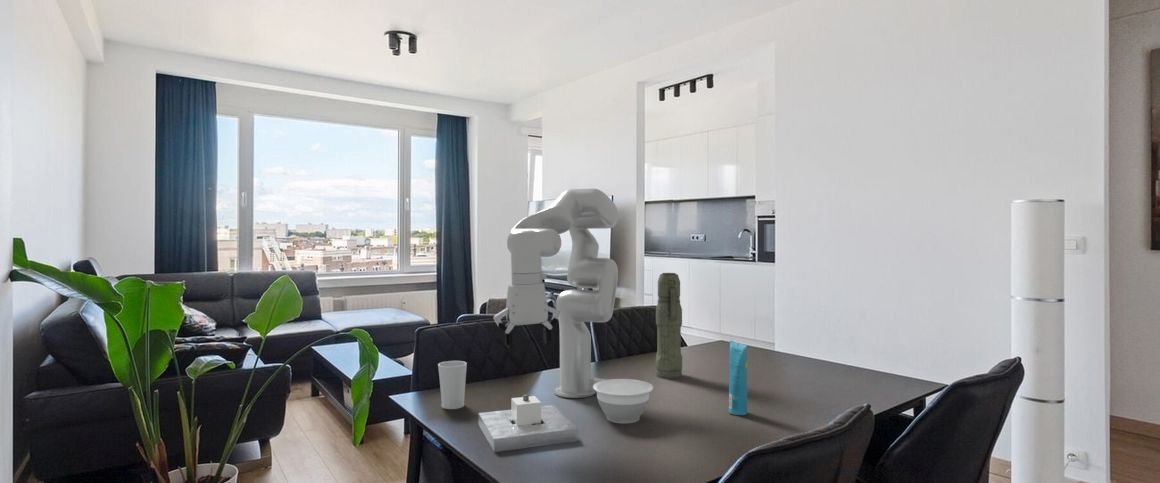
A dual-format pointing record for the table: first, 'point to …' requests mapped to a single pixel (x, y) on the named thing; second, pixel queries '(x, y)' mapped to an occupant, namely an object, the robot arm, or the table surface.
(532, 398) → the plug
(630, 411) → the bowl
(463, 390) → the cup
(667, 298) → the thermos
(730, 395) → the tube
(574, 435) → the socket
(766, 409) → the table surface
